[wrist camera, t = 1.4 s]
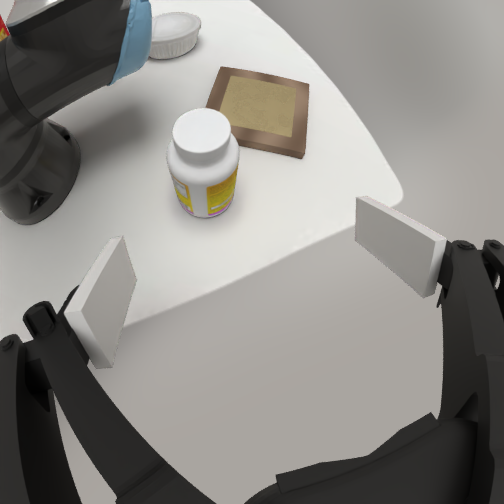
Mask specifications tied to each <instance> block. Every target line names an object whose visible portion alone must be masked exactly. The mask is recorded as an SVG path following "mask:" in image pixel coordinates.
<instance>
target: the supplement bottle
mask: <svg viewBox="0 0 504 504" xmlns="http://www.w3.org/2000/svg"><path fill="white" fill-rule="evenodd" d="M172 136H173V138H172V139H171V141H170V143H169V145H168V148H167V154H166V159H167V164H168V167H169V170H170V174H171V177H172V180H173V183H174V187H175V190H176V193H177V196H178V199H179V201H180V203H181V205H182V207H183V208H184V209H185V210H186V211H187V212H189V213H190V214H192V215H194V216H197V217H202V218H208V217H213V216H216V215H218V214H220V213H222V212H223V211H224V210H226V208H227V207H228V206H229V205H230V203H231V201H232V199H233V195H234V189H235V182H236V175H237V169H238V162H239V146H238V143H237V140H236V139H235V137H234V136H233V134H232V133H231V127H230V123H229V121H228V119H227V118H226V117H225V116H224V115H223V114H222V113H220V112H218V111H216V110H213V109H208V108H199V109H194V110H191V111H188V112H186V113H184V114H183V115H182V116H180V117H179V118H178V119H177V121H176V122H175V124H174V126H173V130H172Z"/></svg>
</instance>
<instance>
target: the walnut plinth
mask: <svg viewBox="0 0 504 504" xmlns="http://www.w3.org/2000/svg"><path fill="white" fill-rule="evenodd" d="M308 100H309V84H307V83H303V82H299V81H295V80H291V79H287V78H283V77H279V76H274V75H269V74H264V73H259V72H254V71H248V70H242V69H236V68H229V67H220V70H219V72H218V75H217V77H216V80H215V83H214V85H213V88H212V91H211V93H210V96H209V99H208V102H207V105H206V107H205V108H208V109H213V110H216V111H218V112H220V113H222V114H223V115H224V116H225V117H226V118H227V119H228V121H229V123H230V127H231V133H232V134H233V136H234V137H235V139H236V140H237V143H238V145H239V146H244V147H249V148H255V149H260V150H264V151H269V152H274V153H279V154H283V155H287V156H292V157H296V158H300V159H302V158H303V156H304V154H305V148H306V133H307V118H308Z"/></svg>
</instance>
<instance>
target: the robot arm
mask: <svg viewBox="0 0 504 504" xmlns="http://www.w3.org/2000/svg"><path fill="white" fill-rule="evenodd" d="M6 26H7V28H8V30H9V33H10V35H8V36H7V37H6V38H4V39H3V40H2V41H0V209H1V210H2V212H3V213H4V214H5V215H6V216H7V217H8V218H10V219H12V220H13V221H15V222H17V223H19V224H24V225H28V224H34V223H37V222H39V221H41V220H43V219H45V218H46V217H47V216H49V215H50V214H51V213H52V212H54V211H55V210H56V209H57V208H58V207H59V205H60V204H61V203H62V202H63V200H64V199H65V198H66V196H67V195H68V193H69V191H70V190H71V188H72V186H73V184H74V181H75V179H76V176H77V173H78V170H79V165H80V150H79V146H78V143H77V142H76V140H75V139H74V137H73V136H72V134H71V133H70V132H69V131H68V130H67V129H66V128H65V127H63V126H61V125H59V124H57V123H55V122H53V121H51V120H49V119H47V117H49V116H50V115H52V114H54V113H55V112H57V111H58V110H60V109H62V108H64V107H65V106H67V105H69V104H70V103H72V102H74V101H76V100H78V99H80V98H81V97H83V96H85V95H87V94H89V93H91V92H93V91H95V90H97V89H99V88H101V87H103V86H105V85H107V86H110V85H112V84H113V83H114V82H115V81H116V80H118V79H120V78H122V77H125V76H127V75H129V74H131V73H133V72H136V71H137V70H139V69H140V68H141V67H142V66H143V65H144V64H145V62H146V61H147V59H148V57H149V54H150V49H151V41H152V13H151V4H150V3H149V1H148V0H15V2H14V5H13V8H12V10H11V12H10V14H9V17H8V19H7V21H6ZM355 241H356V242H357V243H359V244H360V245H361V246H362V247H364V248H365V249H366V250H367V251H369V252H370V253H371V254H372V255H374V256H375V257H376V258H377V259H378V260H380V261H381V262H382V263H383V264H384V265H386V266H387V267H388V268H389V269H390V270H391V271H393V272H394V273H395V274H396V275H397V276H399V277H400V278H401V279H402V280H403V281H404V282H405V283H407V284H408V285H409V286H410V287H411V288H412V289H413V290H414V291H416V292H417V293H418V294H419V295H420V296H421V297H422V298H425V297H428V296H430V295H433V294H434V293H435V289H436V286H437V282H438V283H439V284H441V285H442V289H441V293H440V296H439V299H438V303H437V308H438V307H439V305H440V304H441V306H442V307H441V308H442V321H443V384H442V398H441V409H440V413H439V416H438V419H437V420H436V419H435V417H434V416H433V414H432V413H431V412H430V413H429V414H427V415H425V416H424V417H422V418H420V419H419V420H417V421H415V422H413V423H412V424H409V425H408V426H406V427H404V428H402V429H400V430H399V431H398V432H397V433H396V434H395V435H393V436H392V437H391V438H390V439H389V440H387V441H386V442H385V443H384V444H382V445H381V446H380V447H379V448H377V449H376V450H375V451H374V452H372V453H371V454H369V455H367V456H364V457H358V458H352V459H346V460H339V461H331V462H322V463H318V464H314V465H311V466H308V467H304V468H301V469H297V470H293V471H289V472H286V473H282V474H277V475H276V480H277V483H275V484H273V485H271V486H269V487H267V488H265V489H263V490H261V491H260V492H258V493H257V494H255V495H254V496H253V497H251V498H250V499H249V500H248V501H247V502H245V503H244V504H504V246H503V245H502V244H501V243H500V242H498V241H496V240H485V241H484V245H483V250H477V249H476V247H475V246H474V245H473V244H471V243H469V242H467V241H462V240H456V241H453V242H452V243H451V242H449V241H447V239H446V238H445V237H443V236H441V235H440V234H438V233H436V232H434V231H433V230H431V229H429V228H427V227H426V226H424V225H422V224H420V223H419V222H417V221H415V220H413V219H411V218H409V217H407V216H406V215H404V214H402V213H400V212H398V211H396V210H394V209H392V208H390V207H388V206H386V205H384V204H382V203H380V202H378V201H376V200H374V199H372V198H370V197H368V196H362V197H356V224H355ZM498 276H500V284H499V287H498V289H496V287H495V285H496V282H497V279H498ZM136 282H137V279H136V276H135V273H134V270H133V267H132V264H131V261H130V257H129V254H128V251H127V248H126V244H125V241H124V237H123V236H119V237H114V238H110V240H109V241H108V243H107V244H106V245H105V247H104V248H103V250H102V251H101V253H100V254H99V256H98V257H97V259H96V260H95V262H94V263H93V265H92V266H91V268H90V270H89V271H88V273H87V274H86V276H85V277H84V279H83V281H82V282H81V284H80V285H78V286H77V287H76V288H74V289H73V290H72V291H71V292H70V294H69V296H68V297H67V300H65V302H64V304H63V306H62V307H61V309H60V311H59V312H58V314H56V312H55V310H54V309H53V307H52V305H51V303H50V302H49V301H42V302H39V303H37V304H35V305H33V306H32V307H30V308H29V309H28V310H27V311H26V312H25V314H24V316H23V322H24V323H25V325H26V327H27V329H28V330H29V332H30V334H31V335H32V337H33V339H34V340H31V341H28V342H25V343H22V341H21V339H20V338H19V336H18V335H16V334H12V335H9V336H7V337H4V338H3V339H2V340H1V341H0V504H82V503H81V500H80V497H79V495H78V492H77V489H76V487H75V483H74V480H73V477H72V474H71V471H70V468H69V464H68V461H67V457H66V454H65V450H64V446H63V442H62V438H61V434H60V429H59V424H58V418H57V414H56V407H55V400H54V393H55V396H56V398H57V400H58V402H59V404H60V406H61V408H62V410H63V412H64V414H65V416H66V418H67V420H68V422H69V424H70V426H71V428H72V429H73V431H74V433H75V435H76V437H77V438H78V440H79V442H80V443H81V445H82V447H83V448H84V450H85V452H86V453H87V455H88V456H89V458H90V459H91V461H92V462H93V464H94V465H95V467H96V468H97V470H98V471H99V473H100V474H101V475H102V477H103V478H104V479H105V481H106V482H107V483H108V485H109V486H110V488H111V489H112V490H113V492H114V493H115V494H116V496H117V499H116V501H115V502H116V504H216V503H215V502H213V501H212V500H211V499H209V498H208V497H207V496H205V495H204V494H203V493H202V492H200V491H199V490H198V489H197V488H196V487H194V486H193V485H192V484H191V483H190V482H188V481H187V480H186V479H185V478H184V477H183V476H181V475H180V474H179V473H178V472H177V471H176V470H175V469H174V468H173V467H172V466H171V465H169V464H168V463H167V462H166V461H165V460H164V459H163V458H162V457H161V456H160V455H159V454H158V453H157V452H156V451H155V450H154V449H153V448H152V447H151V446H150V445H149V444H148V443H147V442H146V440H145V439H144V438H143V437H142V436H141V435H140V434H139V433H138V432H137V431H136V429H135V428H134V427H133V426H132V425H131V424H130V423H129V421H128V420H127V419H126V418H125V417H124V416H123V414H122V413H121V412H120V411H119V409H118V408H117V407H116V406H115V404H114V403H113V402H112V400H111V399H110V398H109V396H108V395H107V394H106V393H105V391H104V390H103V389H102V387H101V386H100V384H99V383H98V382H97V380H96V379H95V377H94V376H93V374H92V373H91V371H90V370H89V368H88V367H87V364H88V361H89V358H90V360H91V362H92V363H93V365H94V366H95V368H96V369H100V368H112V367H113V363H114V359H115V355H116V350H117V346H118V343H119V339H120V335H121V332H122V328H123V324H124V321H125V317H126V314H127V311H128V307H129V304H130V301H131V297H132V294H133V291H134V288H135V285H136ZM53 391H54V393H53Z"/></svg>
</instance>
